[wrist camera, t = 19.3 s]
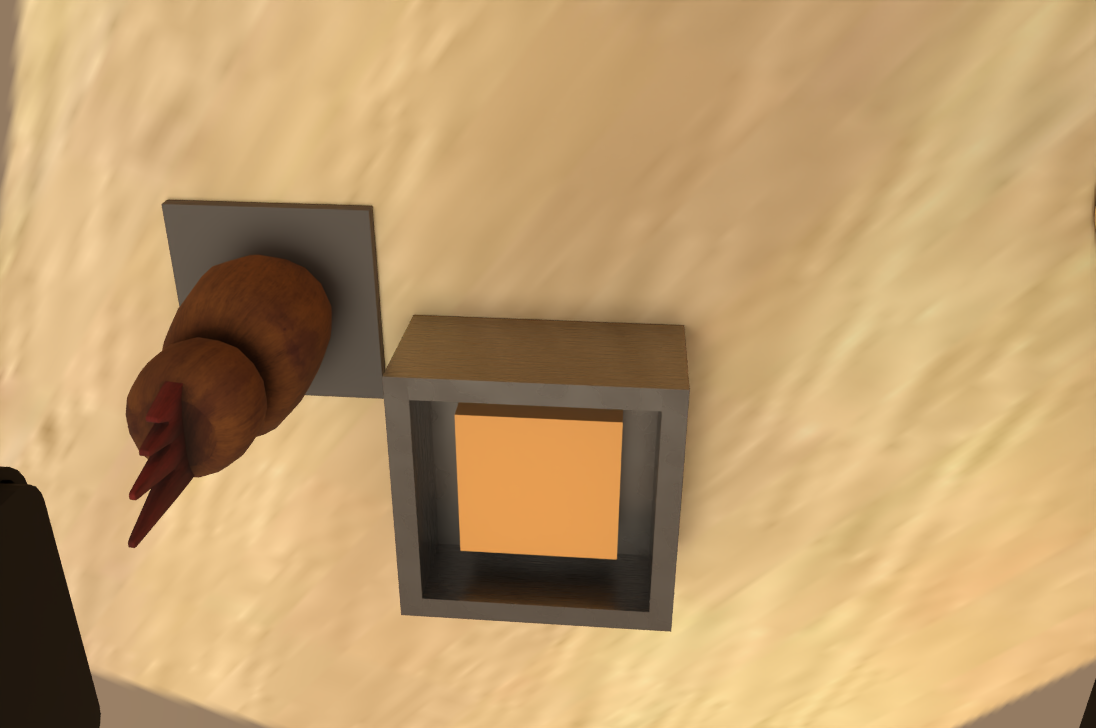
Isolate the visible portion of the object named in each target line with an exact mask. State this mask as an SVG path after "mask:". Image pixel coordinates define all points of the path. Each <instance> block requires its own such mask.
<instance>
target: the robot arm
mask: <svg viewBox="0 0 1096 728" xmlns="http://www.w3.org/2000/svg"><path fill="white" fill-rule="evenodd" d="M1095 227H1096V208H1095ZM100 715H101V713H100V706H99V702H98V699H97V695H96V691H95V687H94V683H93V680H92V676H91V672H90V669H89V665H88V661H87V657H86V654H85V650H84V646H83V642H82V639H81V635H80V631H79V628H78V624H77V620H76V616H75V613H74V609H73V605H72V602H71V598H70V594H69V590H68V587H67V583H66V579H65V575H64V572H63V568H62V564H61V561H60V557H59V553H58V549H57V546H56V542H55V538H54V534H53V531H52V527H51V523H50V520H49V516H48V512H47V508H46V505H45V501H44V498H43V496H42V494H41V492H40V491H39V490H38V488H37V487H35V486H32V485H29V484H27V482H26V480H25V478H24V476H23V475H22V474H21V473H20V472H19V471H18V470H16V469H13V468H11V467H0V728H99V726H100ZM1079 728H1096V680H1095V683H1094V685H1093V688H1092V691H1091V694H1090V697H1089V700H1088V703H1087V706H1086V709H1085V712H1084V715H1083V718H1082V721H1081V724H1080V727H1079Z"/></svg>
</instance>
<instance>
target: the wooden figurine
mask: <svg viewBox="0 0 1096 728" xmlns="http://www.w3.org/2000/svg"><path fill="white" fill-rule="evenodd" d="M331 328H332V310H331V304H330V302H329V300H328V298H327V295H326V293H325V291H324V289H323V287H322V285H321V283H320V282H319V281H318V280H317V279H316V278H315V277H314V276H313V275H312V274H311V273H310V272H309V271H308V270H307V269H306V268H305V267H302V266H300V265H298V264H296V263H293V262H291V261H289V260H287V259H281V258H275V257H270V256H264V255H249V256H245V257H241V258H238V259H234V260H230V261H227V262H224V263H221V264H218V265H215V266H212V267H211V268H210V269H209V270H208V271H207V272H206V273H205V274H204V275H203V276H202V277H201V278H200V279H199V281H198V282H197V284H196V285H195V286H194V288H193V289H192V290H191V292H190V293H189V295H188V296H187V297H186V299H185V300H184V302H183V303H182V304H181V306H180V307H179V308H178V310H177V313H176V315H175V317H174V319H173V322H172V324H171V326H170V328H169V331H168V333H167V336H166V338H165V341H164V345H163V350H162V352H160V353H159V354H158V355H156V356H155V357H154V358H153V359H152V360H151V361H149V362H148V363H147V365H146V366H145V367H144V368H143V369H142V371H141V372H140V373H139V375H138V377H137V379H136V380H135V382H134V384H133V386H132V387H131V390H130V392H129V394H128V397H127V405H126V418H127V423H128V428H129V433H130V435H131V437H132V439H133V440H134V442H135V444H136V446H137V448H138V450H139V455H140V456H145V457H146V458H147V459H148V461H147V462H146V464H145V466H144V468H143V469H142V471H141V473H140V475H139V477H138V478H137V480H136V482H135V484H134V485H133V487H132V489H131V491H130V493H129V499H130V500H137V499H139V498H140V497H141V496H142V495H144V494H145V493H146V492H147V491H148V490H150V489H151V490H150V492H149V495H148V497H147V499H146V501H145V504H144V506H143V508H142V511H141V513H140V515H139V517H138V520H137V522H136V524H135V526H134V529H133V531H132V533H131V536H130V538H129V541H128V546H129V547H131V548H135V547H137V545H138V544H139V543H140V542H141V541H142V539H143V538H144V537H145V536H146V535H147V533H148V532H149V531H150V530H151V529H152V527H153V526H154V525H155V524H156V523H157V521H158V520H159V519H160V518H161V517H162V515H163V514H164V513H165V512H166V511H167V510H168V508H169V507H170V506H171V505H172V504H173V502H174V501H175V500H176V499H177V498H178V496H179V495H180V494H181V493H182V491H183V490H184V489H185V487H186V486H187V485H188V484H189V482H190V481H191V480H192V479H193V477H202V476H206V475H209V474H213V473H216V472H219V471H221V470H222V469H224V468H226V467H227V466H228V465H230V464H231V463H233V462H234V461H235V460H237V459H238V458H240V457H241V456H242V455H243V454H244V453H245V452H246V450H247V449H248V448H249V446H250V445H251V443H252V442H253V441H254V439H255V438H256V437H257V436H260V435H264V434H266V433H268V432H270V431H272V430H274V429H275V428H277V427H278V426H279V424H280V423H281V422H282V421H283V420H284V419H285V418H286V417H287V416H288V415H289V414H290V413H291V412H292V411H293V409H294V408H295V407H296V406H297V405H298V404H299V403H300V401H301V400H302V398H303V397H304V395H305V394H306V392H307V391H308V389H309V387H310V385H311V383H312V381H313V379H314V378H315V376H316V374H317V372H318V370H319V368H320V365H321V363H322V360H323V358H324V355H325V352H326V349H327V346H328V343H329V340H330V337H331Z"/></svg>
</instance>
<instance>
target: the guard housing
mask: <svg viewBox="0 0 1096 728" xmlns="http://www.w3.org/2000/svg"><path fill="white" fill-rule="evenodd" d="M382 380H383V392H384V405H385V417H386V430H387V442H388V455H389V467H390V480H391V492H392V505H393V517H394V530H395V543H396V555H397V568H398V580H399V593H400V605H401V615H411V616H427V617H444V618H460V619H476V620H492V621H509V622H525V623H541V624H557V625H574V626H590V627H606V628H622V629H639V630H655V631H671V626H672V613H673V600H674V587H675V574H676V561H677V548H678V535H679V522H680V509H681V496H682V483H683V470H684V457H685V444H686V431H687V418H688V405H689V392H690V388H689V377H688V366H687V354H686V343H685V331H684V326H682V325H656V324H630V323H604V322H579V321H553V320H527V319H501V318H475V317H449V316H424V315H413V317H412V319H411V321H410V323H409V325H408V327H407V329H406V331H405V333H404V335H403V337H402V339H401V341H400V343H399V345H398V347H397V349H396V351H395V353H394V355H393V357H392V359H391V360H390V362H389V364H388V366H387V368H386V370H385V372H384V374H383V376H382ZM459 402H463V403H485V404H507V405H529V406H551V407H573V408H595V409H618V410H623V429H622V452H621V475H620V498H619V521H618V544H617V560H616V559H599V558H581V557H563V556H545V555H528V554H510V553H492V552H474V551H460V528H459V505H458V483H457V460H456V437H455V412H456V409H457V406H458V403H459Z"/></svg>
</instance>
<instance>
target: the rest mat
mask: <svg viewBox="0 0 1096 728" xmlns="http://www.w3.org/2000/svg"><path fill="white" fill-rule="evenodd" d="M162 210H163V216H164V221H165V227H166V233H167V238H168V244H169V250H170V255H171V261H172V267H173V272H174V278H175V284H176V289H177V295H178V301H179V306H181V304H182V303H183V302H184V300H185V299H186V297H187V296H188V295H189V293H190V292H191V290H192V289H193V288H194V286H195V285H196V284H197V282H198V281H199V279H200V278H201V277H202V276H203V275H204V274H205V273H206V272H207V271H208V270H209V269H210V268H211V267H212V266H215V265H218V264H221V263H224V262H227V261H230V260H234V259H238V258H241V257H245V256H249V255H264V256H270V257H275V258H281V259H287V260H289V261H291V262H293V263H296V264H298V265H300V266H302V267H305V268H306V269H307V270H308V271H309V272H310V273H311V274H312V275H313V276H314V277H315V278H316V279H317V280H318V281H319V282H320V283H321V285H322V287H323V289H324V291H325V293H326V295H327V298H328V300H329V302H330V304H331V310H332V328H331V337H330V340H329V343H328V346H327V349H326V352H325V355H324V358H323V360H322V363H321V365H320V368H319V370H318V372H317V374H316V376H315V378H314V379H313V381H312V383H311V385H310V387H309V389H308V391H307V392H306V394H305V395H314V396H336V397H358V398H381V399H384V392H383V380H382V376H383V374H384V372H385V363H384V350H383V338H382V325H381V312H380V299H379V286H378V274H377V261H376V248H375V235H374V222H373V210H372V206H351V205H318V204H286V203H253V202H220V201H187V200H167V201H165V202H164V203H162Z"/></svg>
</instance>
